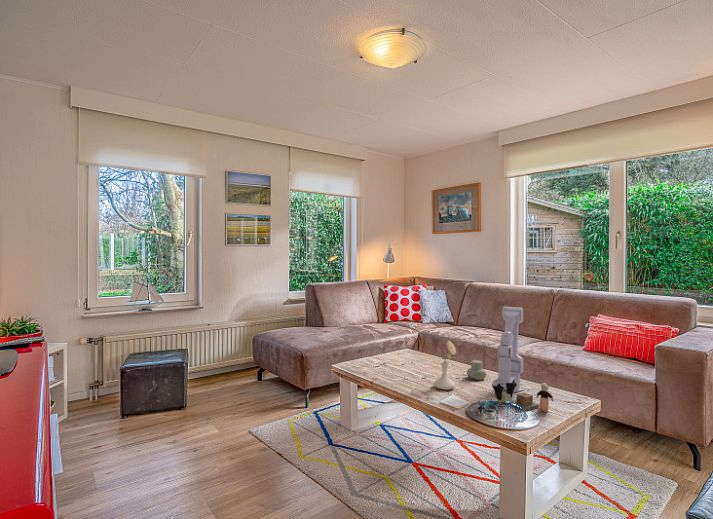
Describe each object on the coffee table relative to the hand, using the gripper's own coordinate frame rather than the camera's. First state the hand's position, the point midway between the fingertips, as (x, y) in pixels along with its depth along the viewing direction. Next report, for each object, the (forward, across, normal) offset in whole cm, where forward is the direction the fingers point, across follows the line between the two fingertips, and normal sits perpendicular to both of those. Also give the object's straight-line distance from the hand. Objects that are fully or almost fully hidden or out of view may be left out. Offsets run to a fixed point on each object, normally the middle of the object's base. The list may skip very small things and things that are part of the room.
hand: (504, 398), depth 194 cm
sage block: (+2, 0, 0) cm, 2 cm away
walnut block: (0, +4, -9) cm, 9 cm away
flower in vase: (+2, -10, +30) cm, 32 cm away
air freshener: (+2, +17, +33) cm, 37 cm away
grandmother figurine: (+2, +7, -17) cm, 18 cm away
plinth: (+2, +4, -8) cm, 9 cm away
